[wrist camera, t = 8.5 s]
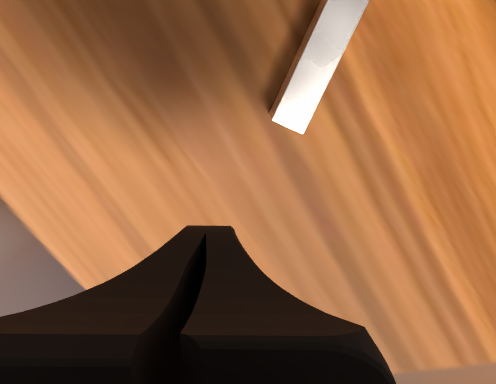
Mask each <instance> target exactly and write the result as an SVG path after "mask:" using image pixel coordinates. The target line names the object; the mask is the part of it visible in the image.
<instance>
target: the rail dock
mask: <svg viewBox="0 0 496 384" xmlns="http://www.w3.org/2000/svg"><path fill="white" fill-rule="evenodd" d="M368 2H369V0H321V1H320V3H319V6H318V8H317V10H316V12H315V14H314V16H313V19H312V21H311V23H310V25H309V27H308V29H307V32H306V34H305V36H304V38H303V40H302V42H301V45H300V47H299V49H298V51H297V53H296V55H295V58H294V60H293V62H292V64H291V66H290V69H289V71H288V73H287V75H286V77H285V79H284V82H283V84H282V86H281V88H280V90H279V92H278V95H277V97H276V99H275V101H274V103H273V105H272V108H271V110H270V112H269V115H270V117H271V119H272V121H275V122H277V123H279V124H281V125H283V126H286V127H288V128H290V129H292V130H295V131H297V132H299V133H301V134H303V133H304V131H305V129H306V127H307V125H308V123H309V121H310V119H311V117H312V115H313V113H314V111H315V109H316V107H317V105H318V102H319V100H320V98H321V96H322V94H323V92H324V90H325V88H326V86H327V84H328V82H329V80H330V78H331V76H332V74H333V72H334V70H335V68H336V66H337V64H338V62H339V60H340V58H341V56H342V54H343V52H344V50H345V48H346V46H347V44H348V42H349V40H350V38H351V36H352V34H353V32H354V30H355V28H356V26H357V24H358V22H359V20H360V18H361V16H362V14H363V12H364V10H365V8H366V6H367V4H368Z"/></svg>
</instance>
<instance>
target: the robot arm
mask: <svg viewBox="0 0 496 384" xmlns="http://www.w3.org/2000/svg"><path fill="white" fill-rule="evenodd" d="M0 384H396V382H395V380H394V377H393V375H392V373H391V371H390V369H389V367H388V365H387V363H386V361H385V359H384V357H383V356H382V354H381V352H380V351H379V349H378V347H377V346H376V344H375V343H374V341H373V340H372V338H371V337H370V335H369V333H368V332H367V330H366V328H365V327H363V326H360V325H358V324H355V323H352V322H349V321H346V320H344V319H341V318H338V317H335V316H332V315H330V314H327V313H325V312H323V311H321V310H319V309H317V308H314V307H312V306H310V305H308V304H307V303H305V302H303V301H301V300H299V299H298V298H296V297H294V296H293V295H291V294H290V293H288V292H287V291H285V290H284V289H282V288H281V287H280V286H278V285H277V284H276V283H274V282H273V281H272V280H271V279H270V278H269V277H267V276H266V275H265V274H264V273H263V272H262V271H261V270H260V269H259V267H258V266H257V265H256V264H255V263H254V262H253V260H252V259H251V258H250V256H249V255H248V254H247V252H246V251H245V250H244V248H243V247H242V245H241V243H240V242H239V240H238V238H237V236H236V234H235V230H234V229H233V228H232V227H231V226H186V227H185V228H184V229H182V230H181V231H180V232H179V233H178V234H177V235H175V236H174V237H173V238H172V239H171V240H169V241H168V242H167V243H166V244H164V245H163V246H162V247H161V248H159V249H158V250H157V251H155V252H154V253H152V254H151V255H150V256H148V257H147V258H145V259H144V260H142V261H141V262H140V263H138V264H137V265H135V266H134V267H132V268H130V269H129V270H127V271H125V272H123V273H122V274H120V275H118V276H116V277H114V278H112V279H110V280H108V281H106V282H104V283H102V284H100V285H97V286H95V287H93V288H90V289H88V290H86V291H83V292H81V293H79V294H76V295H74V296H71V297H69V298H65V299H63V300H60V301H57V302H54V303H51V304H48V305H44V306H41V307H38V308H34V309H31V310H27V311H24V312H20V313H16V314H11V315H6V316H2V317H0Z"/></svg>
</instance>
